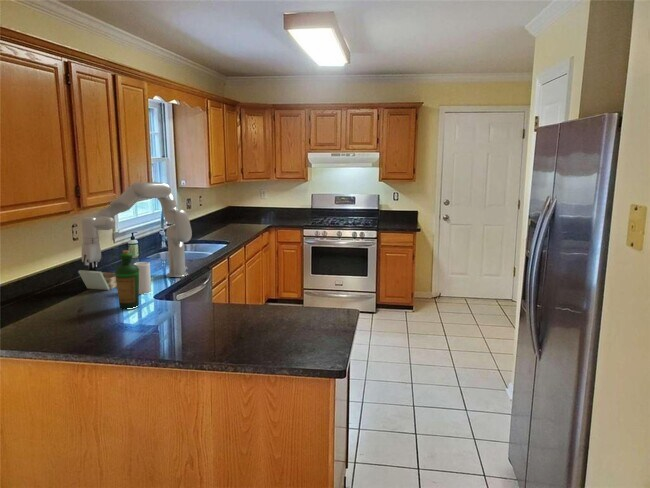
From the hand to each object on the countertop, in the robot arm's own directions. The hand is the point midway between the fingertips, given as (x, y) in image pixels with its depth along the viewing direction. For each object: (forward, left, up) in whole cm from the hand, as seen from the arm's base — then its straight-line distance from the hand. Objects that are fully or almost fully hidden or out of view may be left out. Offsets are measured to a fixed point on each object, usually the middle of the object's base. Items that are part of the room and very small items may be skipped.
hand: (93, 274), depth 244 cm
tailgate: (-4, 0, -9) cm, 10 cm away
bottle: (+19, +33, -10) cm, 40 cm away
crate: (-11, 0, -10) cm, 14 cm away
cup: (-6, +25, -10) cm, 28 cm away
